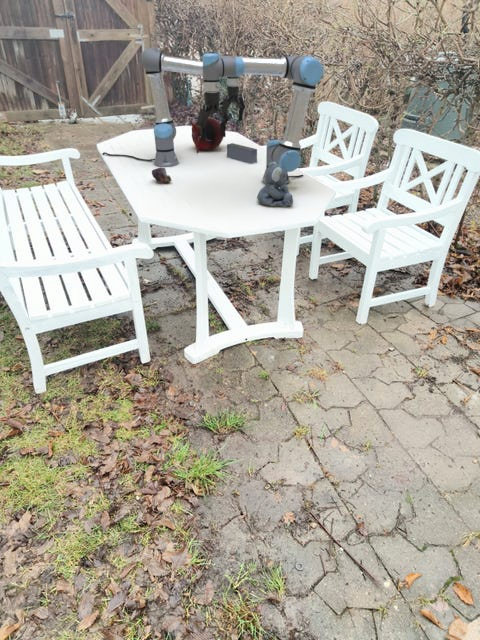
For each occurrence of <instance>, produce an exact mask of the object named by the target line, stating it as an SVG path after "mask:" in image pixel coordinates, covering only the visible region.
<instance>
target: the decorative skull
mask: <svg viewBox="0 0 480 640" xmlns="http://www.w3.org/2000/svg"><path fill="white" fill-rule="evenodd" d="M189 123H190V125H191V140H192V142H193V144H194V146H195V148H196V153H197V154H198V153H199V150H201V151H213V150H215V149H216V148H218V147H219V146H220V145H221V144H222V141H223V140H224V137H222V136H221V128H220V122H219V121H217V120H216V119H215V118H210V117H209V118H208V120H207V122H206V124H205V126H204V127H205V128H206V142H203V141H201V134H200V127H198V126H196V123H197V121H196V122H195V123H193V121H192V120H189Z"/></svg>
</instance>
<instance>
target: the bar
mask: <svg viewBox="0 0 480 640" xmlns="http://www.w3.org/2000/svg"><path fill="white" fill-rule="evenodd" d="M226 157H227V158H229V159H232V160H237V161H240V162H244V163H247V164H251V165H252V164H255V163H258V149H257V148H254V147H250V146H246V145H241V144H238V143H233V142H232V143H227V144H226Z"/></svg>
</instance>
